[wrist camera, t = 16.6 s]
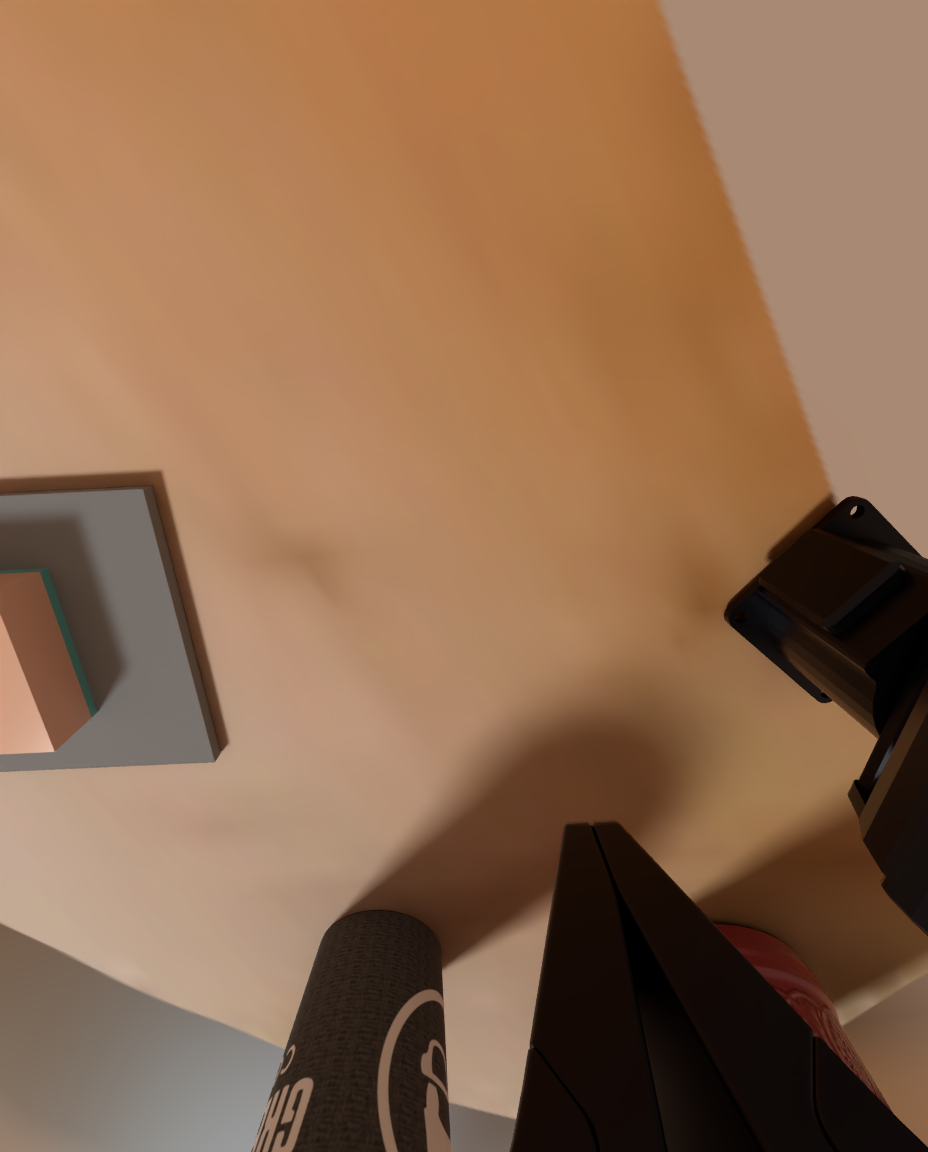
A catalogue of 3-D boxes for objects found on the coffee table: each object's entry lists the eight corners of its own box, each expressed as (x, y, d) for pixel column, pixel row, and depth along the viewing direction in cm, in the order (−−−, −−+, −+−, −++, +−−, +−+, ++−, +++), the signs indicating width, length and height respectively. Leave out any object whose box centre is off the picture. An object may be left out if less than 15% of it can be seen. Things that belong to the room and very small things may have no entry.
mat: (151, 485, 19) (142, 489, 19) (220, 753, 23) (214, 762, 23) (-199, 503, 19) (-219, 507, 19) (-68, 766, 24) (-81, 775, 23)
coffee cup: (360, 859, 26) (244, 1432, 12) (506, 944, 28) (554, 1512, 14) (256, 961, 28) (57, 1534, 14) (397, 1032, 31) (344, 1588, 16)
